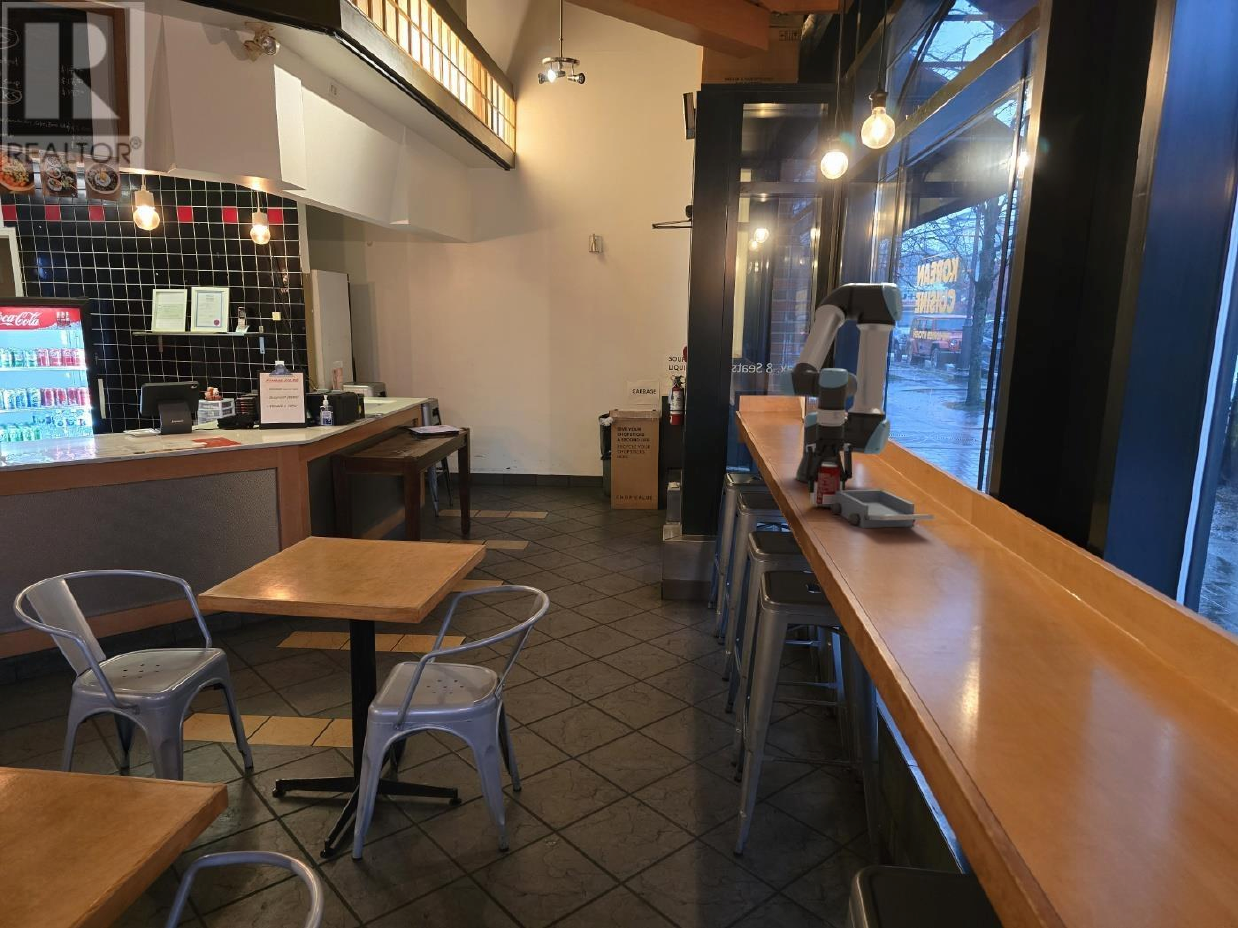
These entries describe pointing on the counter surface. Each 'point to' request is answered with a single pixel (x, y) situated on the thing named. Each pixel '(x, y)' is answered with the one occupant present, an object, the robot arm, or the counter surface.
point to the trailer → (871, 507)
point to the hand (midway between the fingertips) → (825, 503)
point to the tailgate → (898, 517)
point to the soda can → (827, 484)
